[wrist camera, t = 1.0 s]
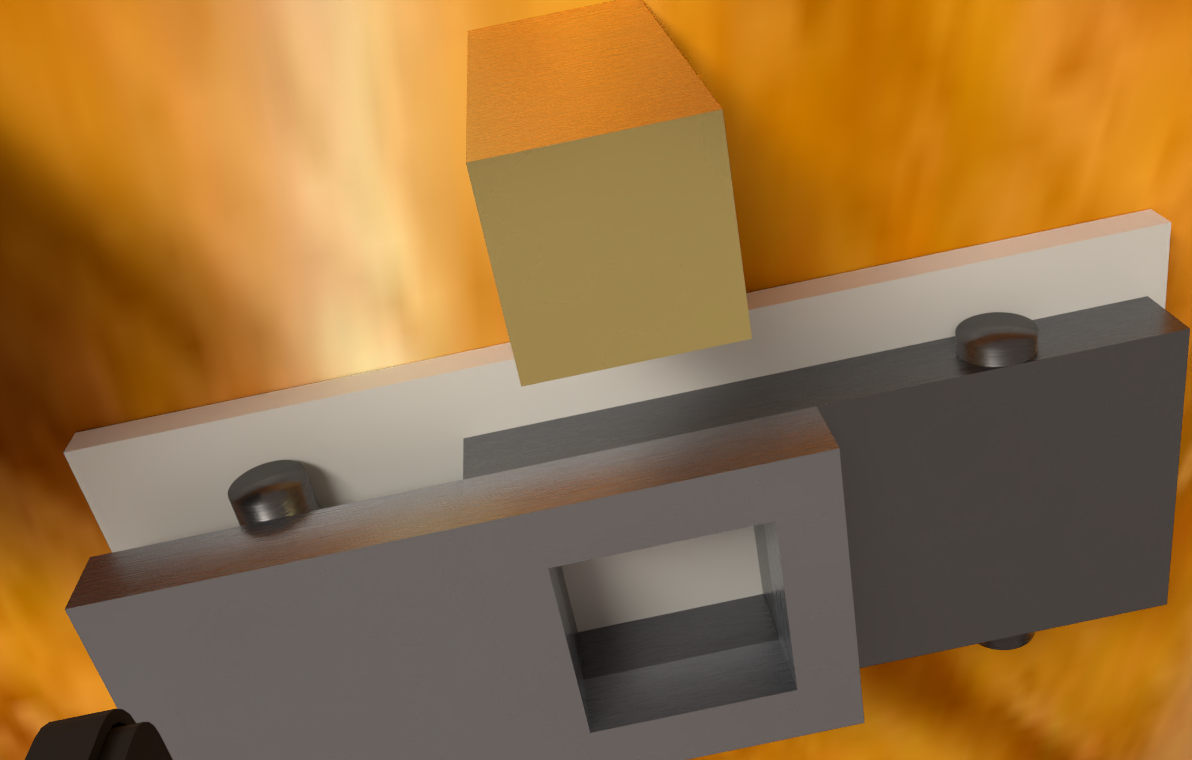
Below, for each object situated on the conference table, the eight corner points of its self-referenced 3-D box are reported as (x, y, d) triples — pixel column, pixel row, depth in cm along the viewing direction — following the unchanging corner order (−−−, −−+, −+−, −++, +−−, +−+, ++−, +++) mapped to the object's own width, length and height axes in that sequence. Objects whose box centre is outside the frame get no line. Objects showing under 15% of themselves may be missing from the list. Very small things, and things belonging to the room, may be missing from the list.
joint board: (1150, 209, 30) (1171, 222, 29) (1127, 588, 36) (1143, 608, 35) (75, 433, 30) (63, 452, 29) (238, 772, 36) (232, 797, 35)
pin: (637, -5, 26) (722, 109, 17) (663, 160, 28) (752, 338, 19) (467, 31, 26) (466, 162, 17) (505, 193, 28) (521, 386, 19)
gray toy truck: (1148, 279, 30) (1239, 346, 26) (1130, 574, 34) (1205, 665, 31) (105, 496, 30) (56, 593, 26) (232, 761, 34) (205, 873, 31)
